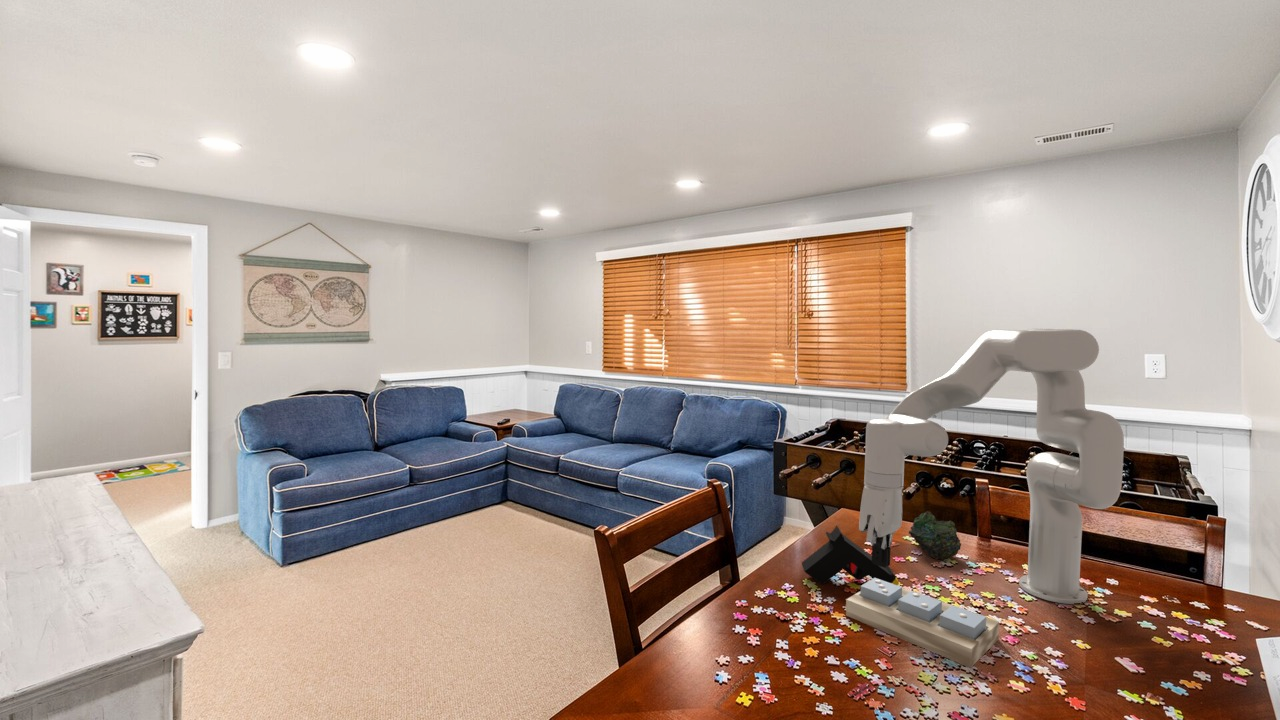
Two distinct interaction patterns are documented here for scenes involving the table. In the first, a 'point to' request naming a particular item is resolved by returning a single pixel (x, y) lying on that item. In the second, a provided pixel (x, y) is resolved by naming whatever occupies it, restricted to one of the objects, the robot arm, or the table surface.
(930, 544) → the rock
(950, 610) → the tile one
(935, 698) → the table surface
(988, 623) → the board
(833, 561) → the toy gun
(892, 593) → the tile three
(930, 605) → the tile two
